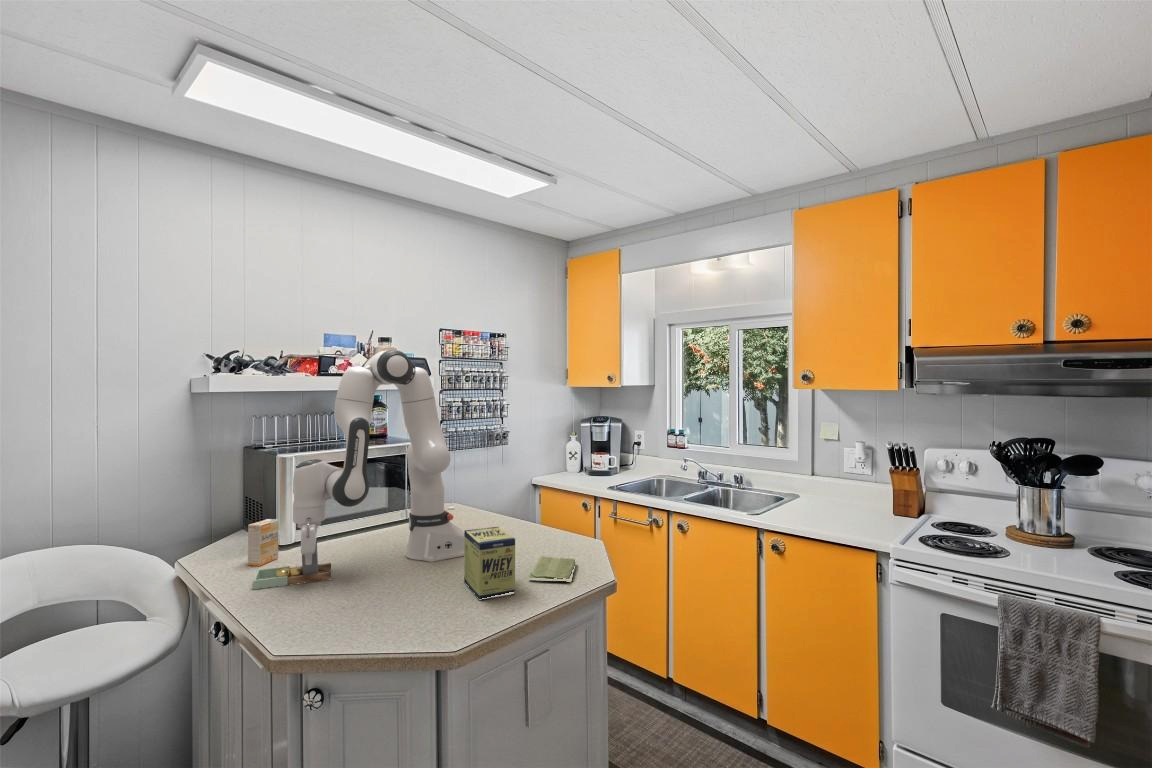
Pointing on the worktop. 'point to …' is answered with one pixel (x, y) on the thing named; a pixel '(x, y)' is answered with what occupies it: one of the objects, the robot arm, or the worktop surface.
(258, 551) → the supplement box
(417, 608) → the worktop surface
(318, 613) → the worktop surface
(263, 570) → the chip tray
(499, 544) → the protein box
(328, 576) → the slot rails
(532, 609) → the worktop surface
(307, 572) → the rake block
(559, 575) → the washcloth
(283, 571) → the puck
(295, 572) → the puck
